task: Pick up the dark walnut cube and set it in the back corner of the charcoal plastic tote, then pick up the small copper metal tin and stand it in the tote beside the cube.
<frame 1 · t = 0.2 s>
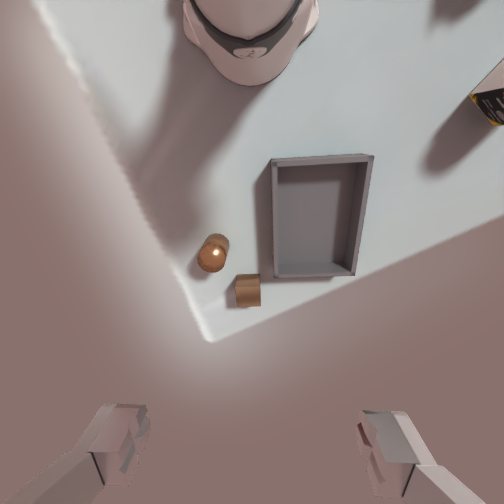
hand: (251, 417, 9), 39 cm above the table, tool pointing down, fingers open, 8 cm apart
tote: (312, 216, 45), on the table
copper tin: (217, 244, 49), on the table
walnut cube: (249, 283, 53), on the table
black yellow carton: (501, 89, 36), on the table
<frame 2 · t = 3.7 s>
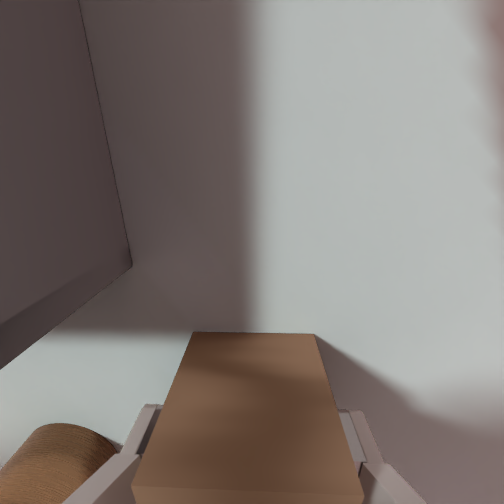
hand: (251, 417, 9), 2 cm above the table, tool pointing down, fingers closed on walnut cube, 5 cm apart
copper tin: (74, 453, 13), on the table
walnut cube: (253, 378, 11), on the table, touching gripper
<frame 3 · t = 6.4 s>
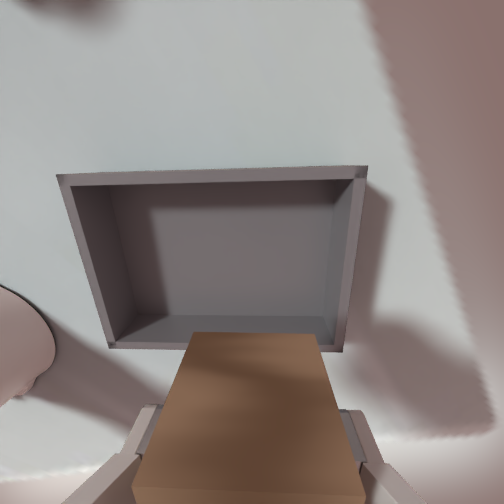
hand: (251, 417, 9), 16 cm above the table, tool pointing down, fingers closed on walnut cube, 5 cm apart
tote: (225, 251, 23), on the table
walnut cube: (253, 377, 10), point 14 cm above the table, touching gripper
when the fingers open (4 cm above the table, at t = 9.6 s): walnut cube drops 2 cm, resting on tote.
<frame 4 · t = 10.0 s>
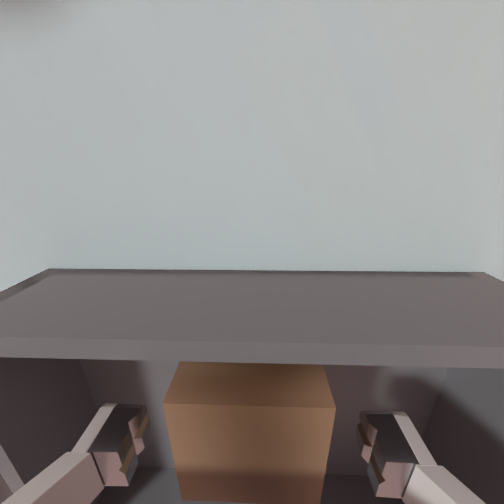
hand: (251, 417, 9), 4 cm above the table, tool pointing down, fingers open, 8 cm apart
tote: (258, 386, 14), on the table
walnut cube: (253, 347, 12), point 1 cm above the table, touching tote
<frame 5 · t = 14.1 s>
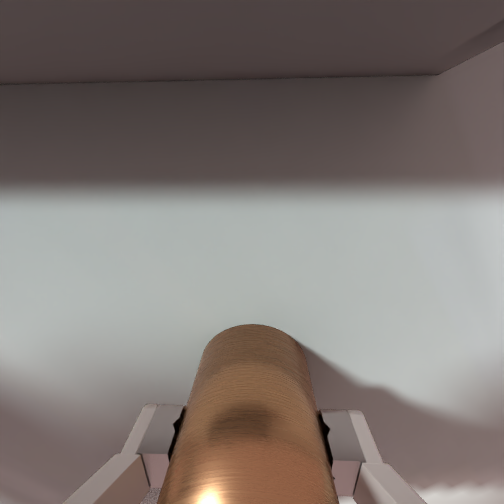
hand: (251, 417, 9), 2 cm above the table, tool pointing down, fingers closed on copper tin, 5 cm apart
copper tin: (253, 367, 11), on the table, touching gripper
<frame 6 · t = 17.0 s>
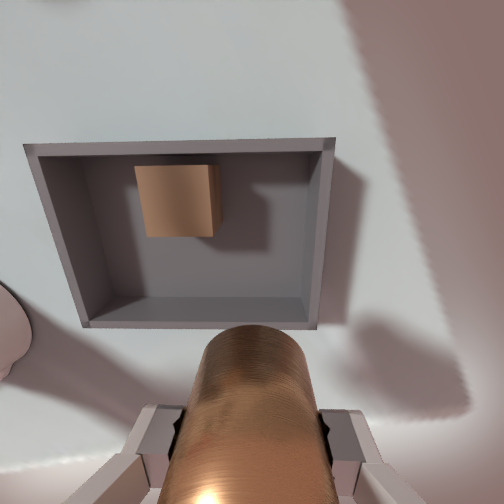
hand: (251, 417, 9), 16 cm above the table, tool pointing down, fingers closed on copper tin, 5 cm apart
tote: (202, 231, 23), on the table
copper tin: (253, 368, 11), point 14 cm above the table, touching gripper
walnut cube: (194, 194, 21), point 1 cm above the table, touching tote
when the fingers open (5 cm above the table, at t = 19.8 s): copper tin drops 1 cm, resting on tote.
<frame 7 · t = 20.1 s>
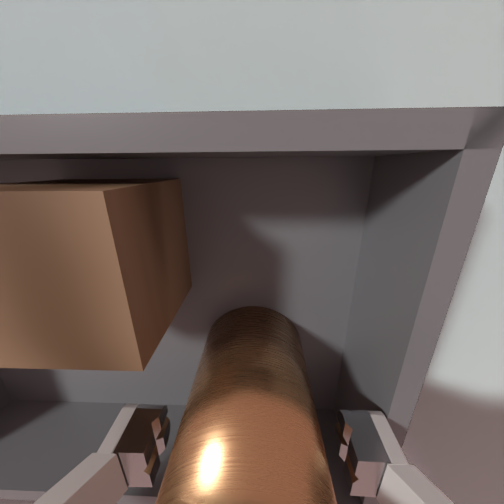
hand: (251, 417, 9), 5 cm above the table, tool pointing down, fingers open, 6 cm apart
tote: (157, 298, 13), on the table
copper tin: (253, 345, 12), point 1 cm above the table, touching tote
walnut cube: (131, 236, 11), point 1 cm above the table, touching tote
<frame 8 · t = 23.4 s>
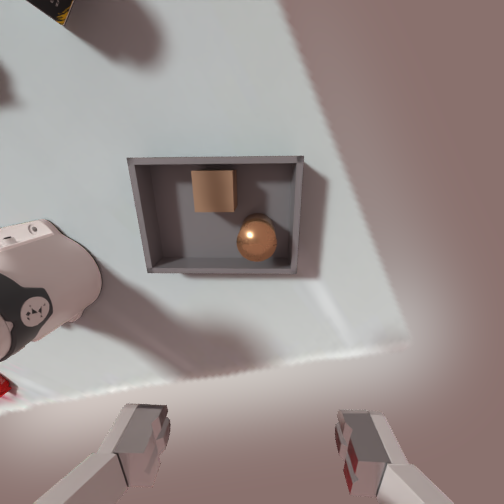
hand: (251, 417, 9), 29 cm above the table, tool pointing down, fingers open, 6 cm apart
tote: (223, 213, 36), on the table
copper tin: (257, 229, 35), point 1 cm above the table, touching tote
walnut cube: (219, 188, 34), point 1 cm above the table, touching tote
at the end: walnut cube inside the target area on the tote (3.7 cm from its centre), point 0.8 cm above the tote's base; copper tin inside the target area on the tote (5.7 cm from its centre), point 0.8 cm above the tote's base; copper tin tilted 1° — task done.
